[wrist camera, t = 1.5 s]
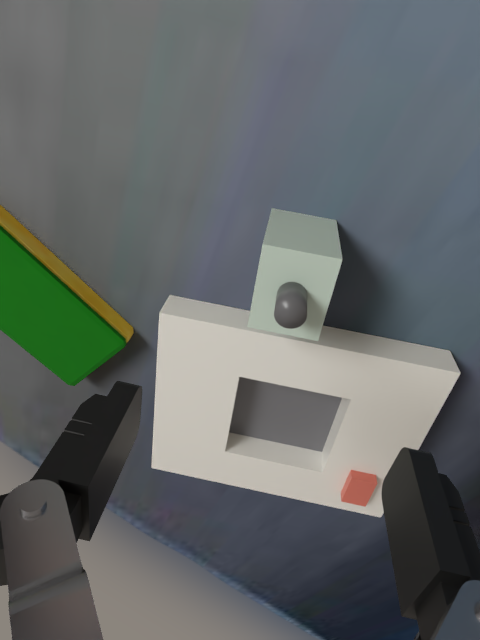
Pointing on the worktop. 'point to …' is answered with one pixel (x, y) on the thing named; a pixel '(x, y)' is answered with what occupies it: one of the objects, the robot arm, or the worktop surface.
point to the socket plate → (290, 405)
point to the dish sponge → (53, 308)
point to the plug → (296, 274)
